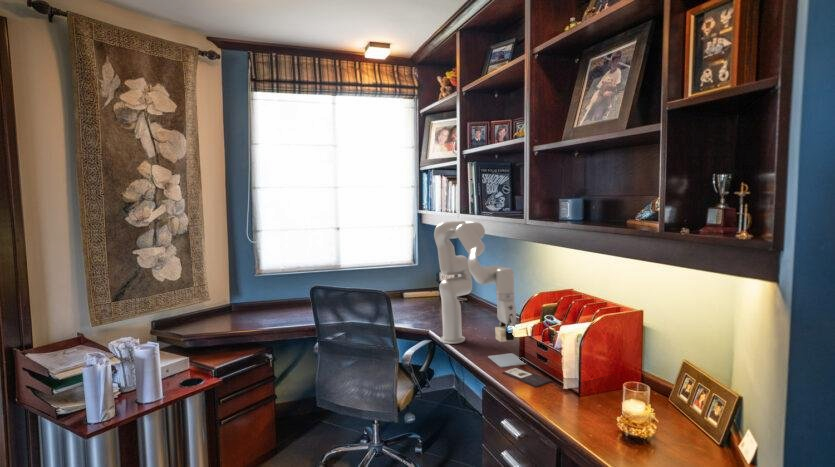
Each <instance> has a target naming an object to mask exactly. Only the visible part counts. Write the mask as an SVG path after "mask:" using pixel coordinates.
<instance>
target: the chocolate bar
mask: <svg viewBox="0 0 835 467" xmlns="http://www.w3.org/2000/svg"><path fill="white" fill-rule="evenodd" d="M501 374H503V375H505V376H506V377H507V376H508V377H510V378H513V379H515V380H517V381H519V382H521V383H523V384H527V385H529V386H531V387H534V388H535V389H537V388H539V387H542V386H545V385H548V384H550V383H553V382H554V380H552V379H550V378H547V377H545V376H542V375H539V374H537V373H534V372H532V371H529V370H527V369H524V368H521V367H519V366H517V367H515V368H511V369H508V370H505V371H502V372H501ZM552 381H553V382H552Z"/></svg>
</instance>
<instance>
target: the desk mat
mask: <svg viewBox="0 0 835 467" xmlns="http://www.w3.org/2000/svg"><path fill="white" fill-rule="evenodd" d="M487 358H488V359H490V360H491V361H492V362H494V364H496V365H497V366H499V367H500V368H508V367H516V366H517V367H518V366H524V365H527V364H526V363H527V362H526V363H524V362H523V361H524V360H523V361H521V360H520V359H521V358H520V357H519V356H517V355H516V354H515V353H514V352H511V353H502V354H495V355H487ZM519 358H520V359H519Z"/></svg>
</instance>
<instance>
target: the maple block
mask: <svg viewBox="0 0 835 467" xmlns="http://www.w3.org/2000/svg"><path fill="white" fill-rule="evenodd" d="M494 328H495V329H494V331H495V333H494V336H495V340H497V341H498V342H500V343H504V342H505V343H506V342H512V341H518V340H519V336H518V337H514V339H513V340H506V326H502V327H500V326H495V327H494Z"/></svg>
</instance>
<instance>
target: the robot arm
mask: <svg viewBox="0 0 835 467" xmlns="http://www.w3.org/2000/svg"><path fill="white" fill-rule="evenodd" d="M485 233H486V230H485V227H484V225H483V224H482V223H480V222H478V221H469V220H459V221H456V220H455V221H454V220H452V221H444V222H441V223H438V224H437V225H436V227H435V228H434V232H433V237H434V242H435V244H436V247H437V255H438V257H437V258H438V264H439V270H440V272H441V274H442V275H443V276H445V277H447V276H454V275H455V277H448V278H446V279H443V280H441V282H440V283H439V285H438V286H439V287H438V290H439V295H440V298H441V317H442V320H441V321H442V336H440V338H439V341H440V342H441V343H443V344H447V345H452V344H453V345H454V344H456V345H457V344H461V343H463V342H465V341H466V337H465V336H463V334H462V332H463V331H462V328H463V327H462V306H461V302H460V300H459V299H458V297H462V296H466V295H469V294H470V293H471V292H472V290H473V280H472V278H473V279H474V280H475V282H476V283H477V284H479V285H488V284H489V285H490V284H495V287H496V288H495V289H496V290H495V293H496V301H497V304H496V311H497V313H496V315H497V317H496V318H497V320H498V324H499V326H498V327H502V326H506V327H508V326H514V327H516V324H517V310H516V303H515V280H514V277H515V275H514V270H513V268H512V267H504V266H500V265H491V266H490V265H489V266H488V265H487V266H482V265H481V263H480V261H479V260H478V257H479V256H481V255H482V254H483V253H484V252H485V249H486V245H485V244H484V243H483V241H482V239H483V238H484V237H485V236H486V235H485ZM451 239H458V240H459V242H460V243H461V244H462V246H463V247H464V250H465V251H466V252H467V254H468V257H466V256H465V255H461V254H460V255H456V251H455V245H454V244H453V243H452V241H451ZM456 275H457V277H456ZM513 339H514V336H513V335H512V333H508V332H507V331H506V340H513ZM513 341H514V340H513Z"/></svg>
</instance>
